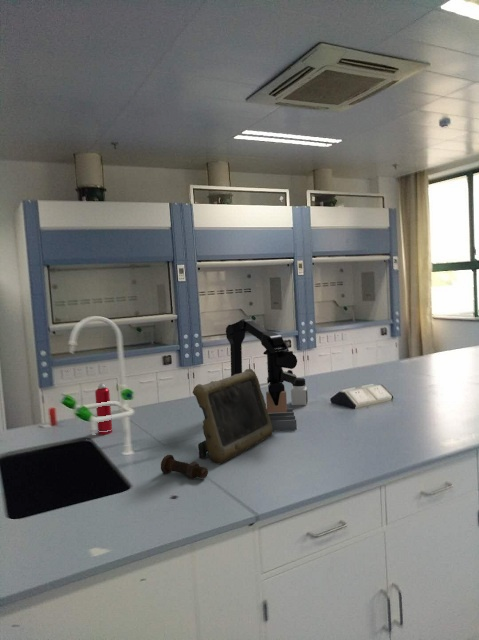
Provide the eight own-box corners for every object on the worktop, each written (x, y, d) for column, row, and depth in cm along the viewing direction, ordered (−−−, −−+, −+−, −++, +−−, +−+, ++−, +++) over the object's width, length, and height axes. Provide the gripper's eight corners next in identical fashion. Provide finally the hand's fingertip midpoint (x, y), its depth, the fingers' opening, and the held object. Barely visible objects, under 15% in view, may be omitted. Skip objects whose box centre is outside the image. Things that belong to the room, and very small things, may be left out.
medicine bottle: (307, 405, 206) (305, 379, 205) (291, 405, 207) (290, 379, 207) (307, 401, 213) (306, 376, 212) (292, 401, 214) (291, 376, 214)
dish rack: (260, 430, 173) (259, 421, 172) (259, 418, 189) (259, 409, 189) (296, 429, 172) (296, 420, 172) (293, 416, 189) (292, 408, 189)
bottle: (108, 429, 185) (104, 381, 184) (114, 431, 181) (111, 383, 180) (95, 432, 181) (92, 384, 180) (102, 435, 178) (98, 385, 176)
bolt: (204, 486, 130) (164, 476, 138) (212, 472, 134) (173, 463, 142) (198, 473, 127) (157, 464, 135) (206, 459, 131) (167, 451, 139)
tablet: (228, 467, 139) (223, 388, 138) (192, 460, 147) (188, 385, 145) (275, 435, 167) (272, 369, 165) (243, 430, 174) (240, 367, 173)
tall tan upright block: (267, 413, 179) (266, 393, 179) (266, 411, 182) (266, 391, 182) (287, 412, 179) (286, 392, 178) (286, 410, 182) (285, 390, 181)
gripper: (296, 369, 170) (298, 409, 171) (292, 361, 188) (294, 397, 189) (267, 370, 170) (269, 411, 171) (266, 362, 189) (268, 398, 190)
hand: (276, 404), depth 180 cm, fingers closed on tall tan upright block, 3 cm apart
